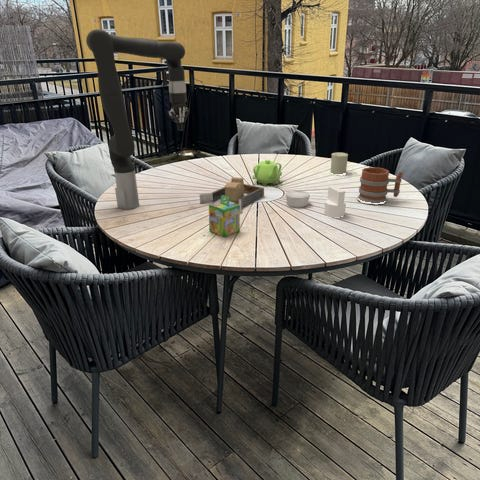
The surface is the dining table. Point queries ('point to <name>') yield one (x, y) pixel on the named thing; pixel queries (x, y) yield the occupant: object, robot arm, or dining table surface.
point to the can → (339, 163)
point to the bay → (252, 195)
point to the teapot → (267, 172)
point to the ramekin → (297, 198)
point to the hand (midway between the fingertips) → (180, 130)
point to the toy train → (235, 189)
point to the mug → (377, 185)
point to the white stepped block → (335, 202)
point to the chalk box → (224, 217)
